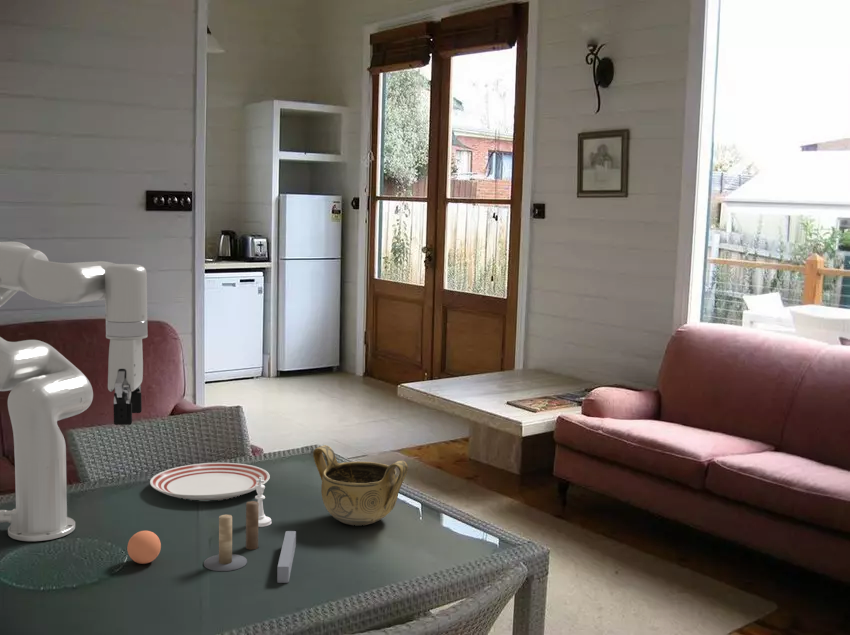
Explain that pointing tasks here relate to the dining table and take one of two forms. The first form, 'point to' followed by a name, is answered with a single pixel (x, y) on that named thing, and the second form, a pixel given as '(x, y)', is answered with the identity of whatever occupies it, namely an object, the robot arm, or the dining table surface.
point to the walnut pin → (252, 525)
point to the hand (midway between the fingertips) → (128, 418)
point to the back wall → (286, 557)
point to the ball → (144, 547)
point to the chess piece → (261, 504)
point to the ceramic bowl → (358, 487)
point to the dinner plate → (209, 480)
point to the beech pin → (225, 539)
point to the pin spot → (214, 564)
